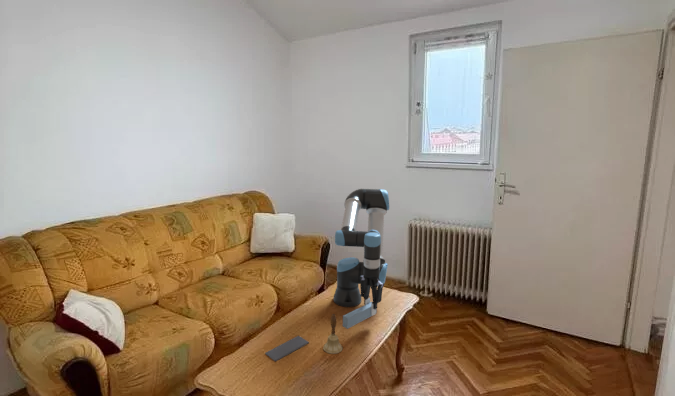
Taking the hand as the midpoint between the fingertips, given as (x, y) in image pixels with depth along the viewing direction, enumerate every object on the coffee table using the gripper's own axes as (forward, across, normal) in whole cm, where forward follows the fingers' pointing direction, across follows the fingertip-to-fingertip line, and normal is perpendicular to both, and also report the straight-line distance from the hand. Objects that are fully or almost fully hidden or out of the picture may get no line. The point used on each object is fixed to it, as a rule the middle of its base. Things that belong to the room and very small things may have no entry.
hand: (370, 313), depth 175 cm
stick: (0, 0, -7) cm, 7 cm away
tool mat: (+7, -14, -39) cm, 42 cm away
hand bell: (+7, 0, -25) cm, 26 cm away
